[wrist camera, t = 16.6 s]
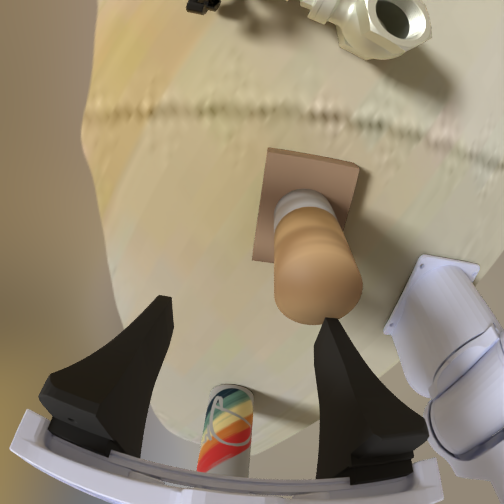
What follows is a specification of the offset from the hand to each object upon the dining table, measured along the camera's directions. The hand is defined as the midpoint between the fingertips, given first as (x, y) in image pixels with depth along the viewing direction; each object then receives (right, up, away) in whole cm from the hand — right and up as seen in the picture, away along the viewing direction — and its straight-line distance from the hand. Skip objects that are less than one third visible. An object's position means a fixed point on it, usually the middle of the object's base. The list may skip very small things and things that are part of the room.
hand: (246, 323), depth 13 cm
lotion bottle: (-2, -15, +21) cm, 26 cm away
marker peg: (+4, +6, +6) cm, 9 cm away
